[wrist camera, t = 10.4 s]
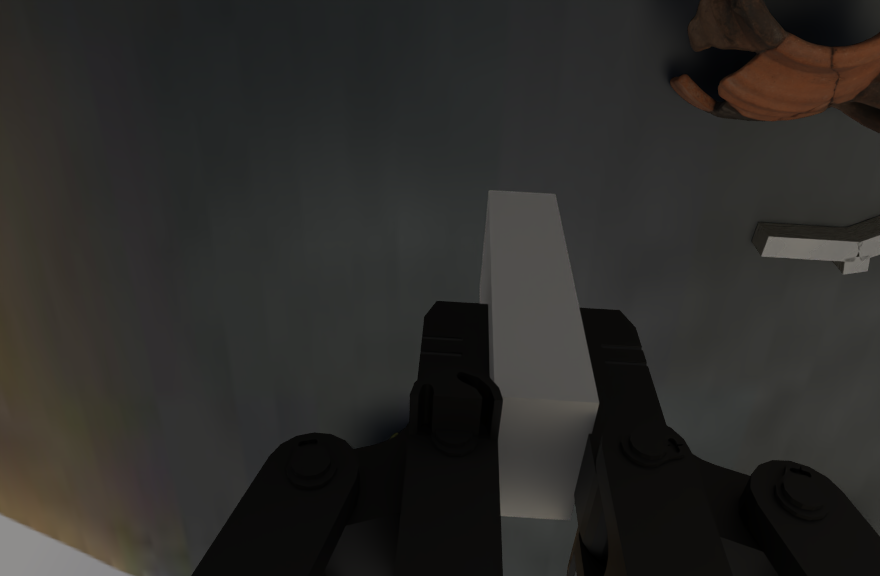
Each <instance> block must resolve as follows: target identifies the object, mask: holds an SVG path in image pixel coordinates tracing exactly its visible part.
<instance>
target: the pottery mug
mask: <svg viewBox="0 0 880 576" xmlns="http://www.w3.org/2000/svg"><path fill="white" fill-rule="evenodd" d="M688 36H689V40H690V45H691V47H692V49H693V50H694V51H696V52H699V51H702V50H704V49H708V48H710V47H712V46H713V47H716V48H719V49H738V50H744V51H751V52H756V53H757V54H756V55H755V56H754V57H753V59H751V60H750V61H749V62H748V63H747V64H746V65H744V66H743V67H742V68H740V69H739V70H737V71H736V72H734V73H731V74H729V75H727V76H725V77H724V78H723V79H722V80H721V81H720V84H719V86H718V94H719V96H720V97H722V98H723V99H725V101H724V102H717V101H716V100H714V99H713V98H711V97H710V96H709V95H707V94H706V93H705V92H704V91H703V90H702V89H701V88H700V87H699V86H698V85H697V84H696V83H695V82H694V81H693V80H692V79H691V78H690V77H689V76H688V75H687V74H683V75H681V76H679V77H674V78H672V79H671V80H670V84H671V86H672V88H673V89H674V90H675V91H676V92H677V93H678V94H679V95H680V96H681V97H682V98H683V99H684V100H686V101H687V102H689V103H690V104H692V105H693V106H695V107H697V108H699V109H702V110H704V111H706V112H708V113H711V114H712V115H715V116H717V117H722V118H728V119H740V120H747V121H776V120H792V119H799V118H803V117H808V116H811V115H815V114H818V113H822V112H824V111H825V110H826V109H827V108H829V107H834V108H837V109H839V110H841V111H842V112H843V113H845V114H846V115H848V116H849V117H851V118H852V119H854V120H855V121H857V122H859V123H860V124H862V125H863V126H866V127H867V128H870V129H872V130H874V131H876V132H878V133H880V32H879V33H878V34H877V35H875V36H874V37H872V38H870V39H868V40H865V41H863V42H860V43H857V44H854V45H849V46H840V47H828V46H823V45H817V44H813V43H810V42H807V41H805V40H803V39H801V38H799V37H797V36H795V35H793V34H791V33H789V32H786V31H785V30H784V29H783V28H782V26H781V25H780V24H779V23H778V22H777V21H776V20H775V19H774V17H773V16H772V15H771V13H770V12H769V10H768V9H767V7H766V5H765V3H764V1H763V0H700V2H699V5H698V9H697V13H696V15H695V17H694V18H693V19H692V20H691V21H690V23H689V25H688Z"/></svg>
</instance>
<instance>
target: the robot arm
mask: <svg viewBox="0 0 880 576" xmlns="http://www.w3.org/2000/svg"><path fill="white" fill-rule="evenodd" d="M641 348H642V346H641V343H640V340H639V337H638V333H637V330H636V327H635V326H634V325H633V324H632V323H631V322H630V321H629V320H628V319H627V318H626V317H625V316H624V314H623V313H622V312H621V311H620V310H607V309H591V308H579V304H578V299H577V294H576V290H575V285H574V280H573V275H572V271H571V266H570V261H569V256H568V252H567V247H566V242H565V237H564V233H563V228H562V223H561V218H560V214H559V209H558V204H557V199H556V195H555V194H547V193H529V192H512V191H495V190H489V193H488V203H487V214H486V225H485V236H484V247H483V258H482V269H481V280H480V304H479V303H462V302H446V301H437V302H436V303H435V304H434V305H433V307H432V308H431V309H430V310H429V312H428V313H427V314H426V315H425V317H424V325H423V335H422V344H421V354H420V362H419V371H418V380H417V381H416V382H415V383H414V386H413V388H412V391H411V393H410V419H409V423H408V425H407V426H406V428H405V429H404V430H402V431H401V432H400V433H399V434H398V435H396V436H395V437H393V438H391V439H389V440H387V441H385V442H382V443H379V444H375V445H371V446H367V447H362V448H357V449H353V448H352V447H351V446H350V445H349V444H348V443H347V442H346V441H345V440H343V439H341V438H338V437H336V436H334V435H332V434H323V433H309V434H304V435H299V436H296V437H294V438H292V439H290V440H288V441H286V442H284V443H282V444H281V445H280V446H279V447H278V448H277V449H276V450H275V451H274V452H273V453H272V454H271V455H270V456H269V457H268V459H267V461H266V462H265V464H264V465H263V467H262V468H261V470H260V471H259V473H258V474H257V476H256V477H255V479H254V480H253V482H252V484H251V485H250V487H249V488H248V490H247V491H246V493H245V494H244V496H243V497H242V499H241V500H240V502H239V503H238V505H237V506H236V508H235V510H234V511H233V513H232V514H231V516H230V517H229V519H228V520H227V522H226V523H225V525H224V526H223V528H222V529H221V531H220V533H219V534H218V536H217V537H216V539H215V540H214V542H213V543H212V545H211V546H210V548H209V549H208V551H207V552H206V554H205V556H204V557H203V559H202V560H201V562H200V563H199V565H198V566H197V568H196V569H195V571H194V572H193V574H192V575H191V576H503V568H502V540H501V516H510V517H525V518H540V519H556V520H570V519H571V515H572V511H573V507H574V503H575V506H576V513H577V520H578V529H577V533H576V537H575V541H574V544H573V548H572V552H571V556H570V560H569V564H568V570H567V576H574V575H575V572H577V576H880V536H879V535H878V534H877V533H876V532H875V530H874V529H873V528H872V527H871V525H870V524H869V523H868V522H867V521H866V519H865V518H864V517H863V516H862V515H861V513H860V512H859V511H858V510H857V509H856V507H855V506H854V505H853V504H852V503H851V501H850V500H849V499H848V498H847V496H846V495H845V494H844V493H843V492H842V491H841V490H840V489H839V488H838V487H837V486H836V485H835V484H834V483H833V482H832V481H831V480H830V479H828V478H827V477H826V476H824V475H822V474H821V473H819V472H817V471H815V470H814V469H812V468H810V467H808V466H805V465H802V464H798V463H795V462H792V461H779V460H772V461H769V462H766V463H763V464H760V465H758V467H757V468H756V469H755V470H754V472H753V473H752V474H751V476H749V475H745V474H742V473H739V472H736V471H733V470H730V469H726V468H723V467H720V466H717V465H714V464H712V463H709V462H707V461H704V460H702V459H700V458H698V457H697V456H695V455H693V454H692V452H691V451H690V449H689V447H688V445H687V444H686V442H685V440H684V439H683V438H682V437H681V436H680V435H679V434H677V433H676V432H675V431H674V430H673V429H672V428H670V427H668V426H667V425H666V422H665V419H664V416H663V413H662V410H661V406H660V403H659V400H658V397H657V394H656V391H655V387H654V384H653V381H652V378H651V375H650V372H649V368H648V366H646V363H647V362H646V359H645V356H644V352H643V350H641Z"/></svg>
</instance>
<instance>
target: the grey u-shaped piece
mask: <svg viewBox="0 0 880 576" xmlns="http://www.w3.org/2000/svg"><path fill="white" fill-rule="evenodd" d="M752 243H753V245H754V246H755V248H756V249H757V251H758V252H759V254H760V255H761V256H763V257H779V258H796V259H812V260H828V261H832V262H833V263H834V264H835V265H836V267H837V268H838V269H839V270H840V271H841V273H842V274H850V273H857V272H864V271H868V265H869V259H870V258H871V257H874V256H877V255H880V216H878V217H875V218H872V219H869V220H867V221H864V222H861V223H858V224H855V225H853V226H850V227H847V228H844V227H827V226H811V225H794V224H778V223H762V222H758V225H757V228H756V231H755V233H754V236H753V239H752Z"/></svg>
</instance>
